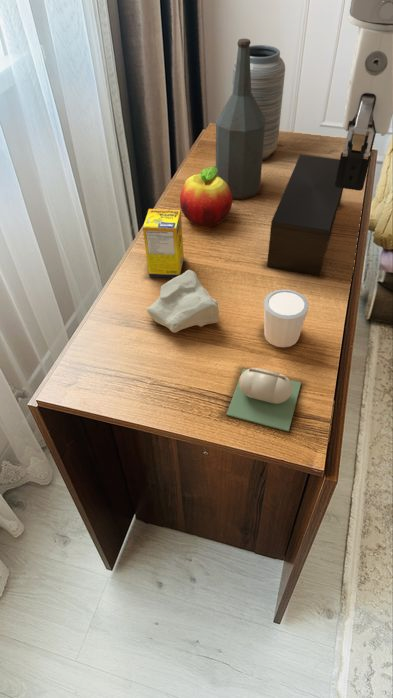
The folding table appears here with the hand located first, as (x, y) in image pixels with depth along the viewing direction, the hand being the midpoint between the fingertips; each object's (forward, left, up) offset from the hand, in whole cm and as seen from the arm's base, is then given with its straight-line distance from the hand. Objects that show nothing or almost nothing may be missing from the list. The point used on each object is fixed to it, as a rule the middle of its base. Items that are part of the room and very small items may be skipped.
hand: (353, 168), depth 61 cm
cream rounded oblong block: (+5, +17, -28) cm, 33 cm away
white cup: (+5, +3, -28) cm, 29 cm away
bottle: (+25, -40, -28) cm, 55 cm away
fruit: (+28, -26, -28) cm, 48 cm away
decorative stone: (+22, +4, -28) cm, 36 cm away
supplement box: (+30, -8, -28) cm, 42 cm away
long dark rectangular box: (+7, -27, -28) cm, 40 cm away
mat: (+5, +17, -28) cm, 33 cm away
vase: (+26, -58, -28) cm, 70 cm away
